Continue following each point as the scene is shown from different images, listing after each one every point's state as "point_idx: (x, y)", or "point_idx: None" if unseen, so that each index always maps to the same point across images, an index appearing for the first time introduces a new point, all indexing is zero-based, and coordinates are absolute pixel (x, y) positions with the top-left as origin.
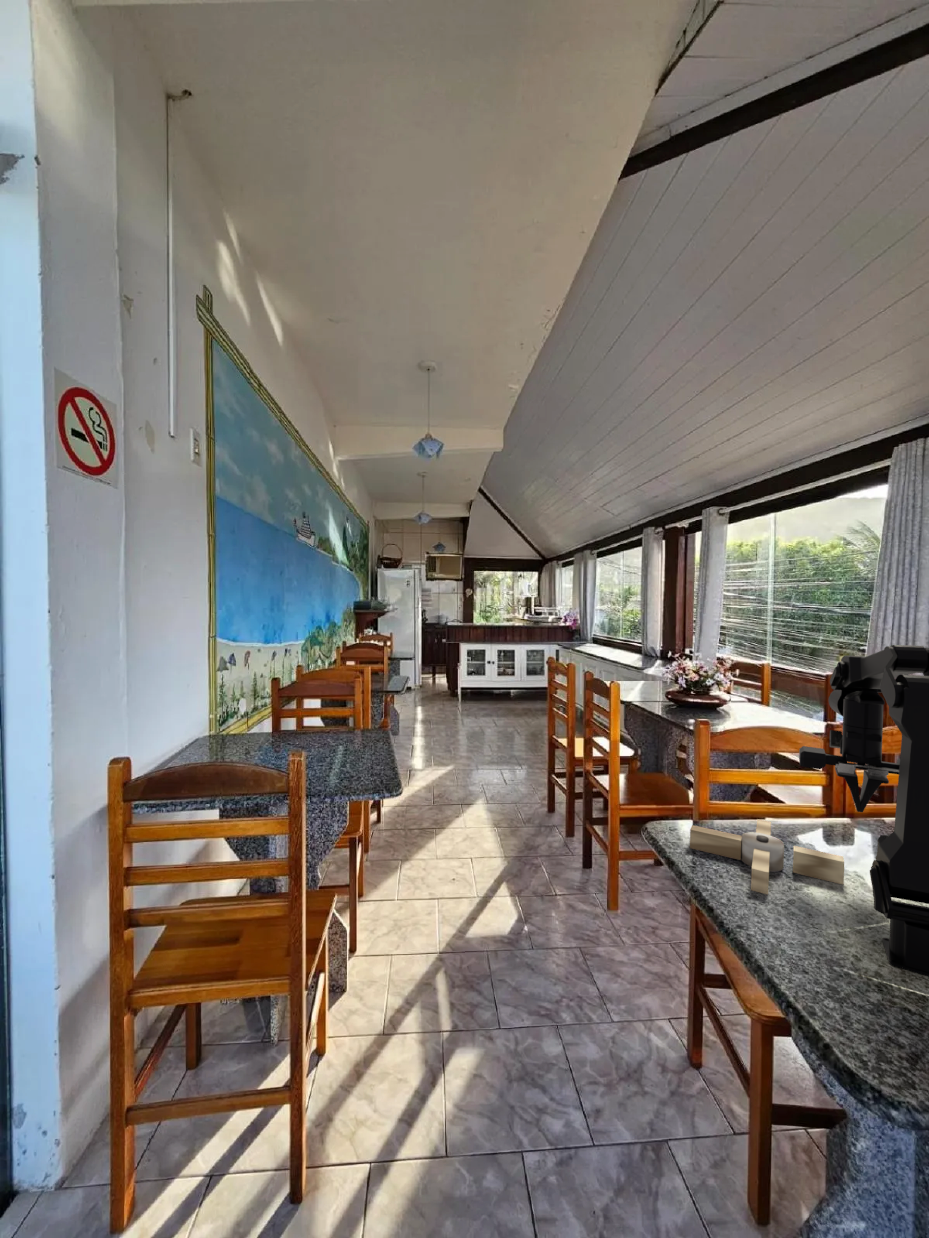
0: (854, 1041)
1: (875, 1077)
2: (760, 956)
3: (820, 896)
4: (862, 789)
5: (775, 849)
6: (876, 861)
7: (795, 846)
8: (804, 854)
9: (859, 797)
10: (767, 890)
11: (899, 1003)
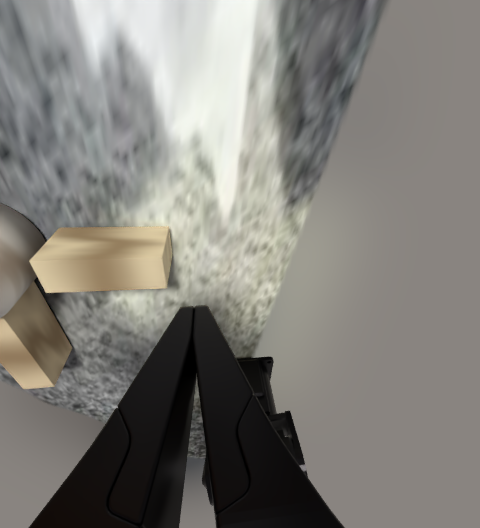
0: (188, 447)
1: (197, 455)
2: None
3: (140, 303)
4: (207, 457)
5: (8, 311)
6: (210, 503)
7: (36, 263)
8: (75, 289)
9: (187, 438)
10: (67, 355)
11: None
